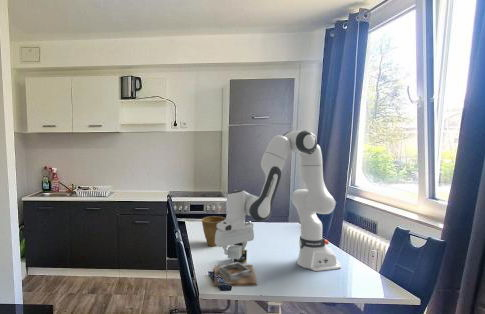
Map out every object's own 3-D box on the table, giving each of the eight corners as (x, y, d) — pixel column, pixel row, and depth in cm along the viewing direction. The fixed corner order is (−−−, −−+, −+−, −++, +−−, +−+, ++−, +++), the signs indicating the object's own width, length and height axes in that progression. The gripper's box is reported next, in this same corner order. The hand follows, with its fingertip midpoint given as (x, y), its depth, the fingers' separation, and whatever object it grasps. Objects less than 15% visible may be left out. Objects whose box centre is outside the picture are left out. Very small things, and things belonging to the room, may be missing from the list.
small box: (230, 254, 141) (230, 244, 141) (242, 255, 140) (242, 245, 139) (227, 258, 135) (227, 248, 135) (239, 259, 134) (239, 249, 134)
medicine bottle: (233, 264, 152) (234, 241, 151) (230, 258, 159) (230, 237, 158) (246, 262, 154) (247, 240, 153) (243, 257, 161) (243, 236, 160)
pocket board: (252, 267, 148) (252, 260, 148) (256, 285, 129) (257, 277, 129) (214, 267, 147) (215, 260, 147) (214, 286, 128) (214, 278, 128)
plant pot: (227, 240, 188) (227, 216, 187) (223, 249, 173) (223, 222, 172) (204, 239, 189) (204, 215, 188) (198, 247, 174) (199, 221, 174)
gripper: (249, 219, 145) (248, 246, 146) (213, 224, 134) (212, 254, 134) (257, 222, 140) (256, 250, 141) (220, 228, 129) (219, 259, 129)
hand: (234, 252), depth 137 cm, fingers closed on small box, 8 cm apart
